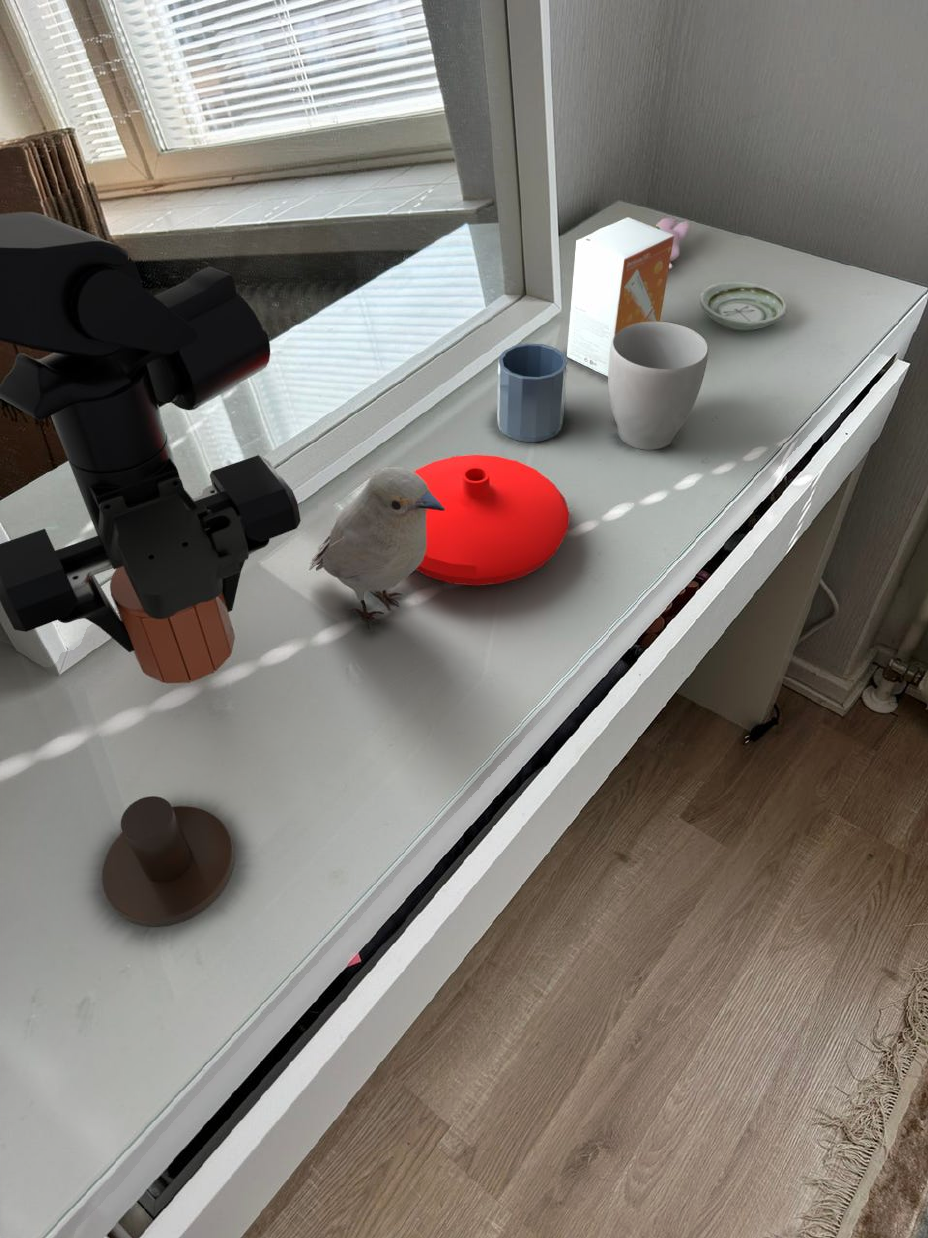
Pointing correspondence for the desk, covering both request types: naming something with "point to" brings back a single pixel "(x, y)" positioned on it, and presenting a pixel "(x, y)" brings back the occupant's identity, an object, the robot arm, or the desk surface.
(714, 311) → the saucer
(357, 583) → the bird
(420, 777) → the desk surface
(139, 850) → the holder
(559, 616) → the desk surface
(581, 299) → the small box
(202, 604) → the orange ribbed cylinder
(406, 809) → the desk surface
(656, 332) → the mug
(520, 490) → the red disc with nozzle
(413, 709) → the desk surface
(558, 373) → the slate cup
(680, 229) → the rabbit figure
